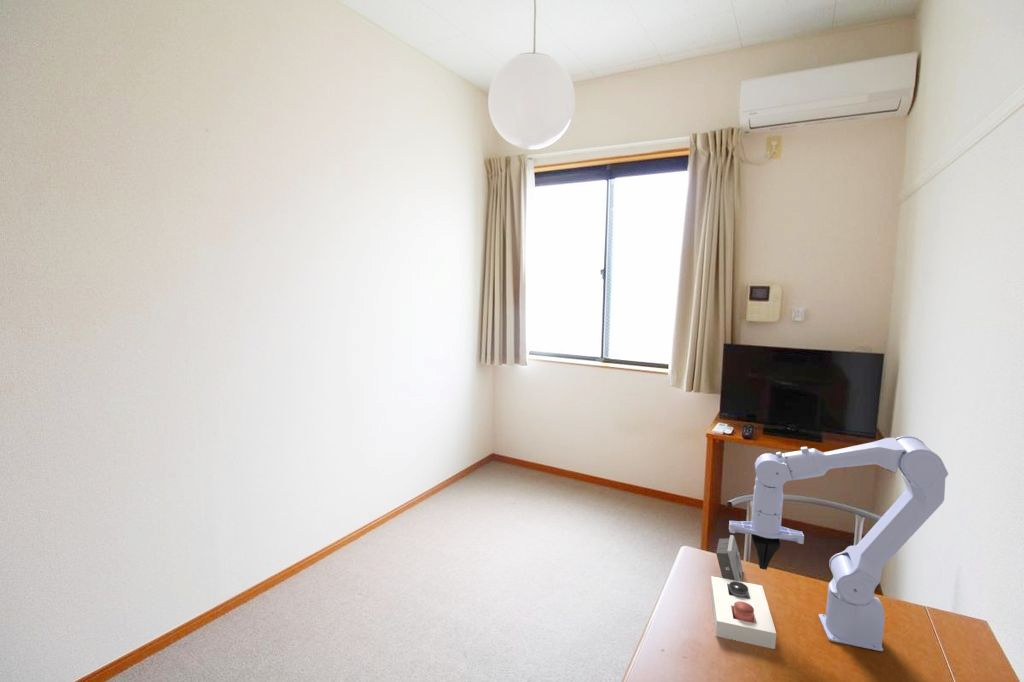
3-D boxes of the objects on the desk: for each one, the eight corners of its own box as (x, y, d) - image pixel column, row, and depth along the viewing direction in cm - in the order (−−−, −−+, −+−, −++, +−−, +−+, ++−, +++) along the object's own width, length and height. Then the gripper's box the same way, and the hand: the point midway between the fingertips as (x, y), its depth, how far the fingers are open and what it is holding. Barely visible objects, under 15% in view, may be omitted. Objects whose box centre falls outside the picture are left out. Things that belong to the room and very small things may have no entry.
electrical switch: (740, 590, 115) (739, 553, 114) (717, 585, 117) (715, 549, 116) (742, 570, 123) (741, 535, 122) (720, 566, 125) (719, 532, 125)
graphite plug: (745, 599, 110) (746, 583, 110) (748, 609, 107) (749, 593, 106) (727, 595, 112) (728, 580, 111) (729, 606, 108) (730, 590, 108)
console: (761, 599, 111) (762, 585, 111) (775, 649, 96) (776, 633, 96) (710, 589, 115) (711, 576, 114) (716, 636, 100) (717, 620, 99)
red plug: (751, 620, 103) (752, 603, 102) (753, 632, 99) (755, 615, 99) (731, 616, 104) (733, 599, 104) (734, 628, 100) (735, 611, 100)
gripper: (800, 506, 106) (795, 562, 108) (729, 496, 111) (725, 551, 113) (808, 521, 100) (803, 581, 101) (732, 510, 104) (728, 568, 106)
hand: (762, 566), depth 107 cm, fingers closed
